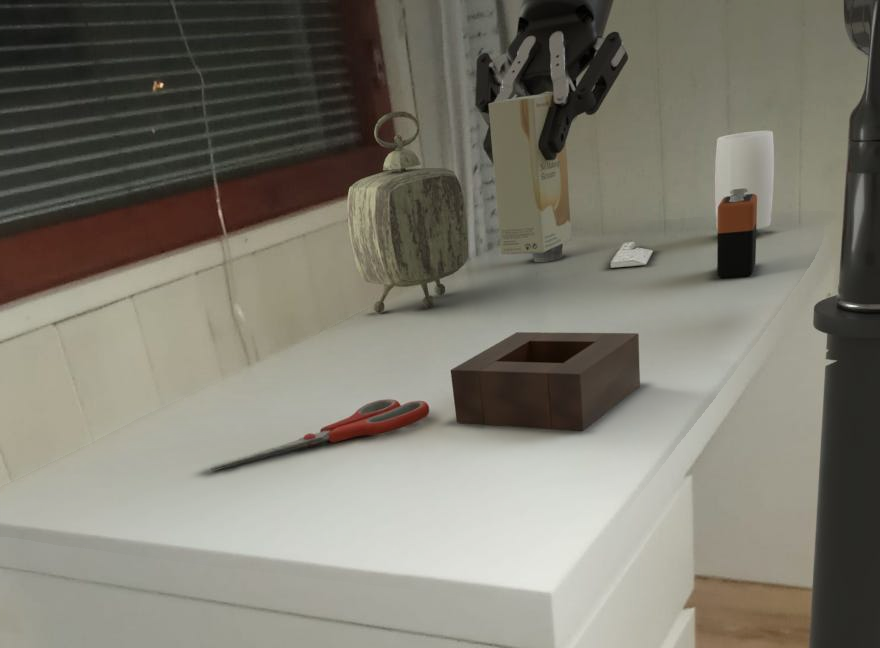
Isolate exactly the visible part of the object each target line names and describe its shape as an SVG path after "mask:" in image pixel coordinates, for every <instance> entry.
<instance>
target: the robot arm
mask: <svg viewBox="0 0 880 648" xmlns="http://www.w3.org/2000/svg"><path fill="white" fill-rule="evenodd" d="M614 1H615V0H522V3H521V6H520V9H519V13H518V17H517V30H516V35H515V37H514V38H513V40H512V41H511V42H510V43H509V44H508V47H507V49H506V52H505V53H503V54H500V55H498V56H496V57H493V58H492V57H491V56H490V54H489V53H487V52H484V53H483V52H482V53H481V54H480V55H479V56H478V57H477V59H476V70H475V72H476V73H475V101H474V103H475V107H476V109H477V111H478V112H479V114H480V116H481V118H482V119H483V120H484V122H485V123H486V125H487V126H488V127H487V129H486V133H485V137H484V140H483V142H482V147H483V148H482V149H483V150H484V152H485V153H486V156H487V157H488V158H489V160H490V162H491V163H492V165H493V166H494V164H493V153H492V140H491V128H490V116H489V104H490V103H492V102H497V101H502V100H507V99H513V98H518V97H524V96H531V95H539V94H545V93H553V97H554V103H555V106H552V107H549V110H548V113H547V116H546V120H545V123H544V126H543V129H542V132H541V136H540V139H539V143H538V145H539V149H540V151H541V153H542V155H543V156H544V158H545V160H546V161H548V160H555V159H556V156H557V153H560V152H561V151H562V149H563V148H564V145H565V142H566V143H567V139H568V135H569V132H570V129H571V125H572V123H574V122H575V121H576V120H577V118H578V116H579V115H582V114H584V113H585V114H586V115H587V116H592V115H594V114H596V113H597V112H598V111H599V109H600V107H601V105H602V104H603V102H604V100H605V99H606V97H607V96H608V93H609V92H610V90H611V89H612V87H613V85H614V84H615V82H616V80H617V78H618V77H619V75H620V73H621V72H622V70H623V69H624V67H625V65H626V63H627V62H628V60H629V55H628V52H627V50H626V46H625V44H624V42H623V40H622V38H621V35H620V33H619V32H618V31H612V32H610V33H608V34H607V35H606V36H605V38H604V34H605V30H606V27H607V23H608V20H609V17H610V13H611V11H612V9H613V8H612V7H613V4H614ZM843 19H844V20H843V21H844V27H845V32H846V34H847V37H848V40H849V41H850V43H851V45H852V47H853V48H854V49H855V50H856V51H857V52H858V53H859V54H861V55H862V56H863V57H865V58H867V67H866V68H867V69H866V77H865V85H864V89H863V92H862V95H861V98H860V99H859V102H857V105H855V106H854V108H853V109H852V110H851V112H850V114H849V118H848V130H847V146H846V147H847V150H846V151H847V152H846V165H845V179H844V180H845V182H844V197H843V211H842V212H843V213H842V226H841V227H842V228H841V243H840V257H839V274H838V286H837V295H838V296H837V307H838V308H839V309H841V310H844V311H848V312H853V313H865V314H880V0H843ZM584 71H585V72H584ZM583 72H584V73H583ZM581 74H583V75H582V77H581V78H580V75H581ZM579 78H580V81H579Z"/></svg>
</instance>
